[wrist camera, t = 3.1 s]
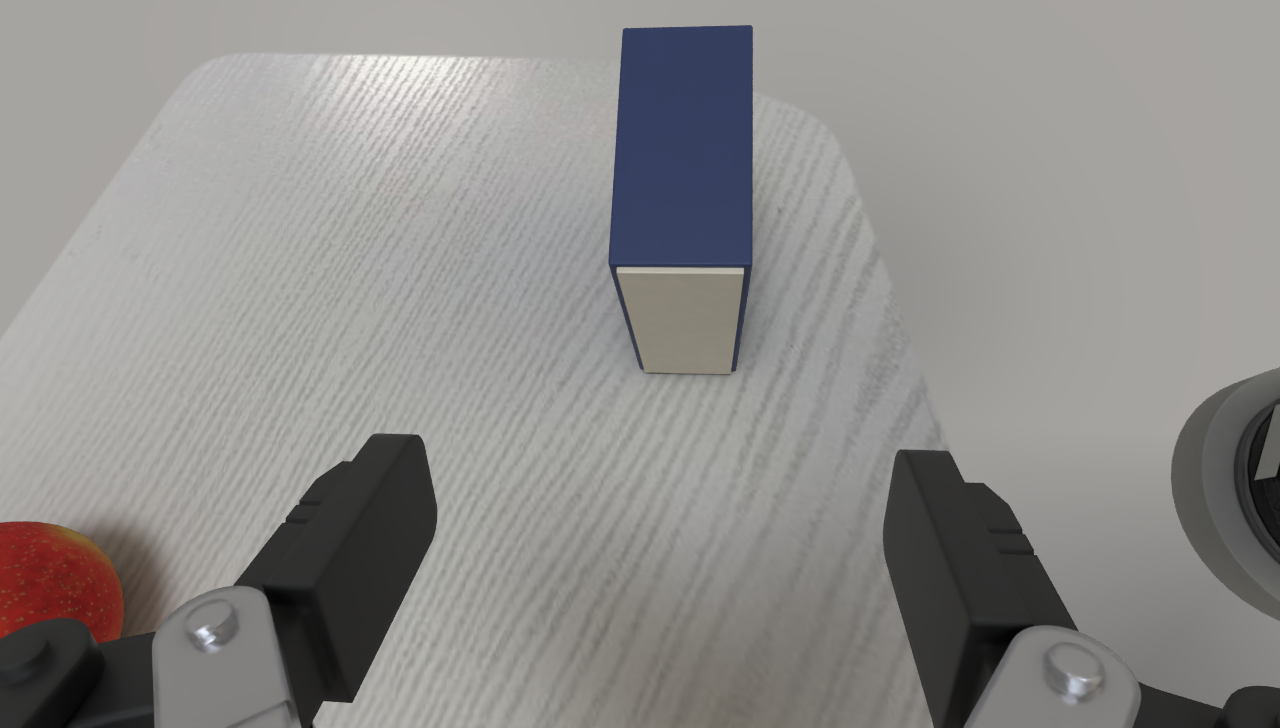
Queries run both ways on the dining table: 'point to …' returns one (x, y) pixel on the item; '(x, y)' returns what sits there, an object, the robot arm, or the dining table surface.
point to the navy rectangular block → (684, 195)
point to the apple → (57, 580)
